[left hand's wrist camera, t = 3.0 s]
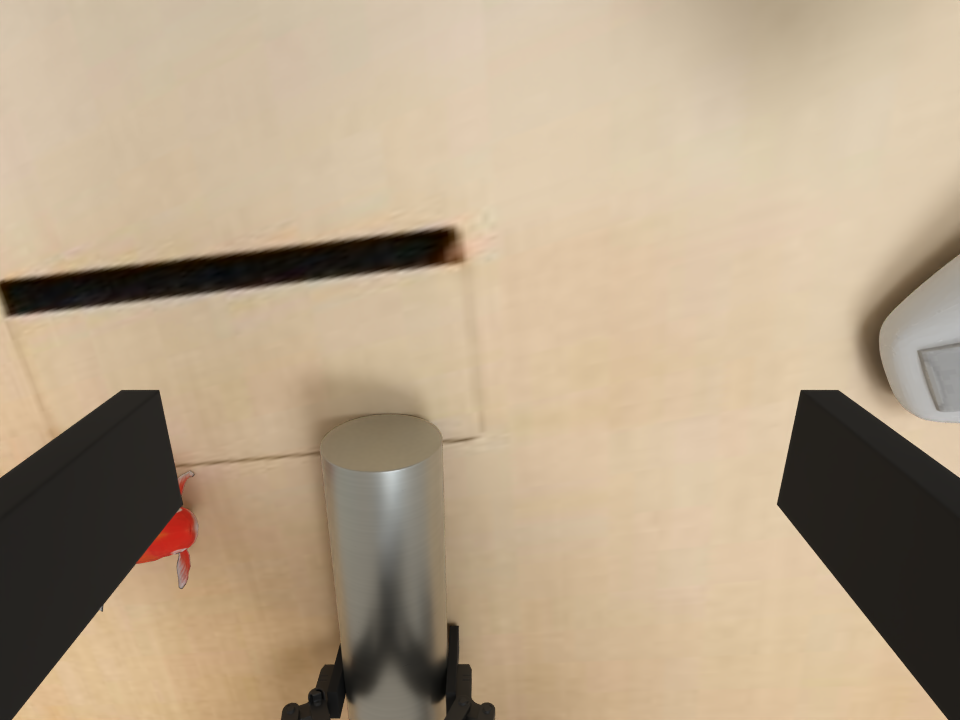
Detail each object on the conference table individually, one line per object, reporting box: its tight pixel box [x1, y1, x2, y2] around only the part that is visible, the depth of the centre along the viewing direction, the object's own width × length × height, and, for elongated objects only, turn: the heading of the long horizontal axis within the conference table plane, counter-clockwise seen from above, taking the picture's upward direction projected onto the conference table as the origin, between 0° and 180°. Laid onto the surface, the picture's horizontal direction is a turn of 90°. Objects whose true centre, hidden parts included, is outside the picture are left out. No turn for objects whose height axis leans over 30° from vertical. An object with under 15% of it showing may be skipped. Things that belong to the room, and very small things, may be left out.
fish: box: [99, 471, 198, 612], centre depth 44 cm, size 11×16×10 cm
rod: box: [320, 414, 448, 720], centre depth 45 cm, size 25×8×8 cm, turn 0°
